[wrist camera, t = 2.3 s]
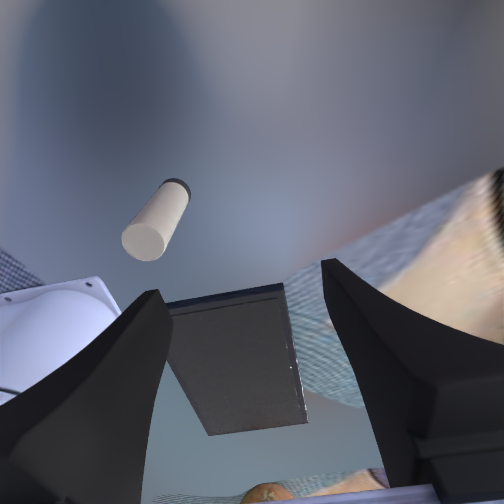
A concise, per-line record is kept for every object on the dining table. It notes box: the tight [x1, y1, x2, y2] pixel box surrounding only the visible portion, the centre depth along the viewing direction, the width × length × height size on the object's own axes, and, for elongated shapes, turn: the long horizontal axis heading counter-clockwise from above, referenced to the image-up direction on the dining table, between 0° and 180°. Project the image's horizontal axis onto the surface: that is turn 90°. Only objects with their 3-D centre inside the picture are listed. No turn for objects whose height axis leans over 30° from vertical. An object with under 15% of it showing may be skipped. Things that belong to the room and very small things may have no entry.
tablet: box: [165, 283, 309, 436], centre depth 28 cm, size 12×20×1 cm, turn 12°
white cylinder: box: [121, 178, 191, 261], centre depth 16 cm, size 2×2×7 cm
